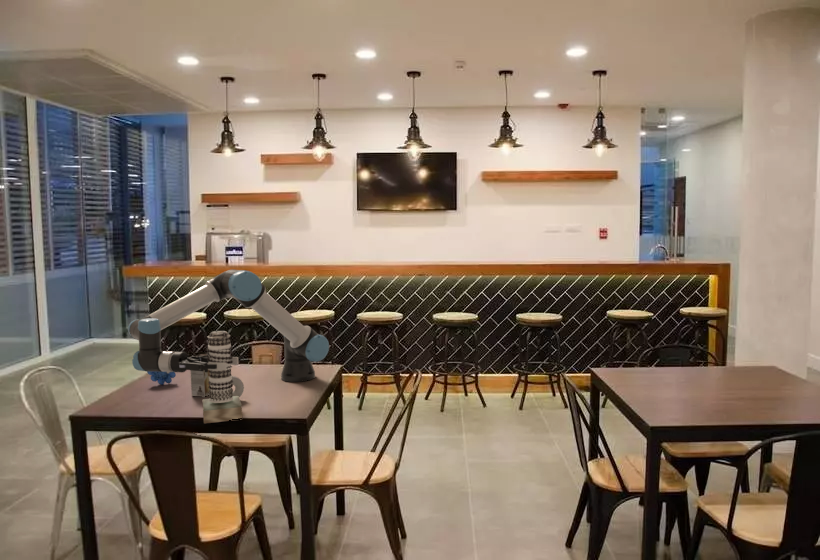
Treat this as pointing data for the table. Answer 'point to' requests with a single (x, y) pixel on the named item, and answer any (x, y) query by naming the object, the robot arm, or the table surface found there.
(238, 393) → the donut
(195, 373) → the coffee box
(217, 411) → the riser
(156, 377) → the blue lobed piece
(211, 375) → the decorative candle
